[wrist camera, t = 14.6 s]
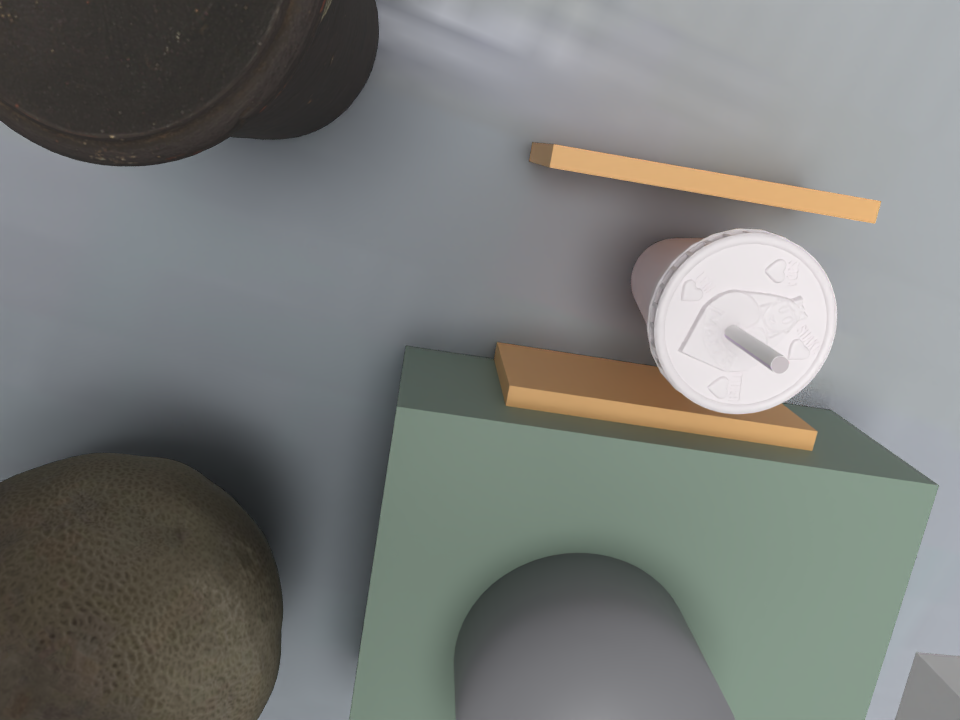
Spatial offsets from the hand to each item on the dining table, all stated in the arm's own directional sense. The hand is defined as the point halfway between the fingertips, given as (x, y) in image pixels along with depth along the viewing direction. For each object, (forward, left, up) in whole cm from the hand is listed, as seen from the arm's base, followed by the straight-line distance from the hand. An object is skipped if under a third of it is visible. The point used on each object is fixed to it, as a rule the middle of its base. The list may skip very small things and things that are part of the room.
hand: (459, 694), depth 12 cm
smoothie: (+10, +3, -28) cm, 29 cm away
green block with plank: (+9, -5, -27) cm, 29 cm away
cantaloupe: (-11, -13, -28) cm, 33 cm away
